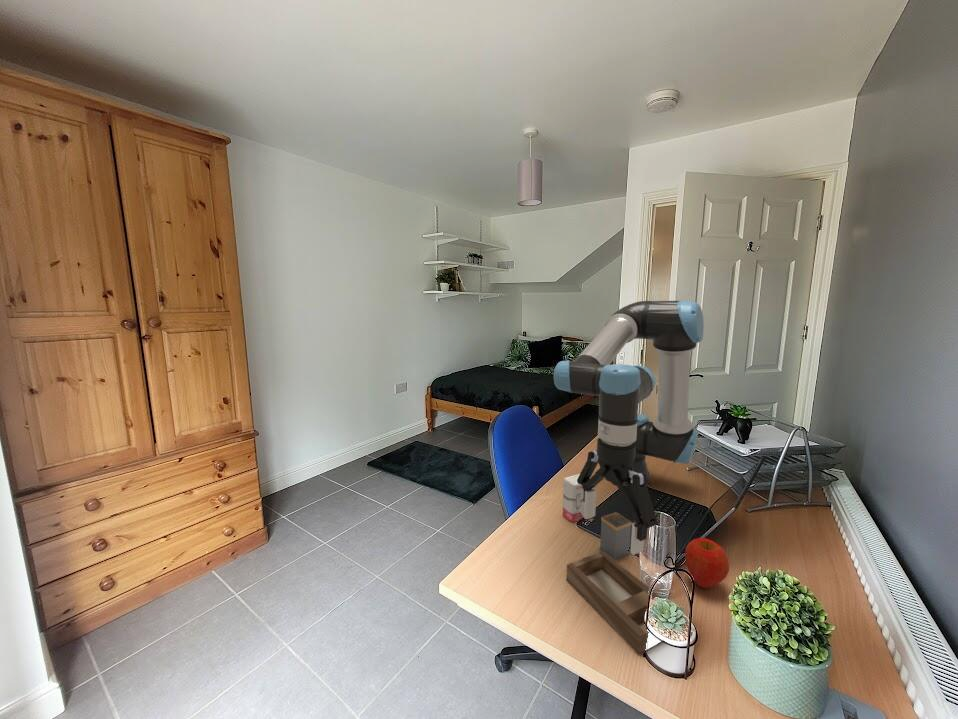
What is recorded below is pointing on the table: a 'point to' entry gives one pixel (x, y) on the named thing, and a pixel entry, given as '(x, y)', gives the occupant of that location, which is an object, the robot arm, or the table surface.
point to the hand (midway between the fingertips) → (611, 533)
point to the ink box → (573, 499)
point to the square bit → (615, 535)
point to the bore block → (613, 595)
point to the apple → (706, 562)
